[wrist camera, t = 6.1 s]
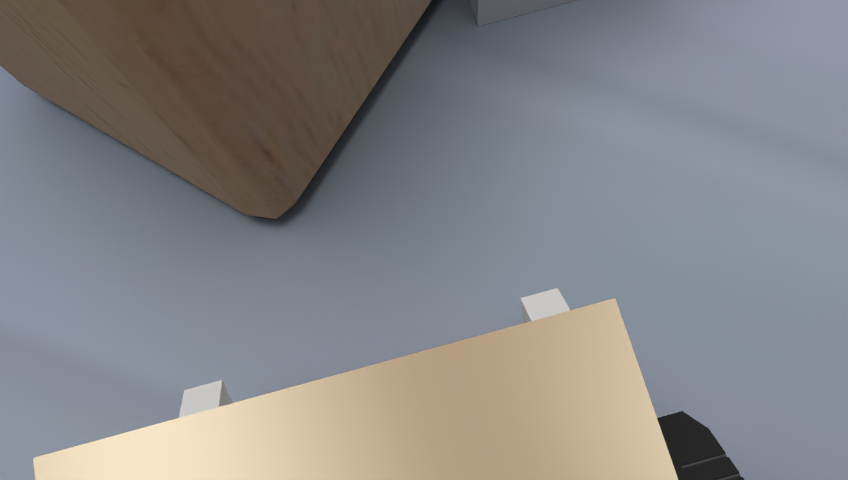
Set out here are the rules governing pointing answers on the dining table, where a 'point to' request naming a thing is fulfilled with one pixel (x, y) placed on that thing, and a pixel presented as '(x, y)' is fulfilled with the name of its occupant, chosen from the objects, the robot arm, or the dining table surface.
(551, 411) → the oak block
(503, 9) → the grey block
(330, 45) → the block
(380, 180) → the dining table surface
